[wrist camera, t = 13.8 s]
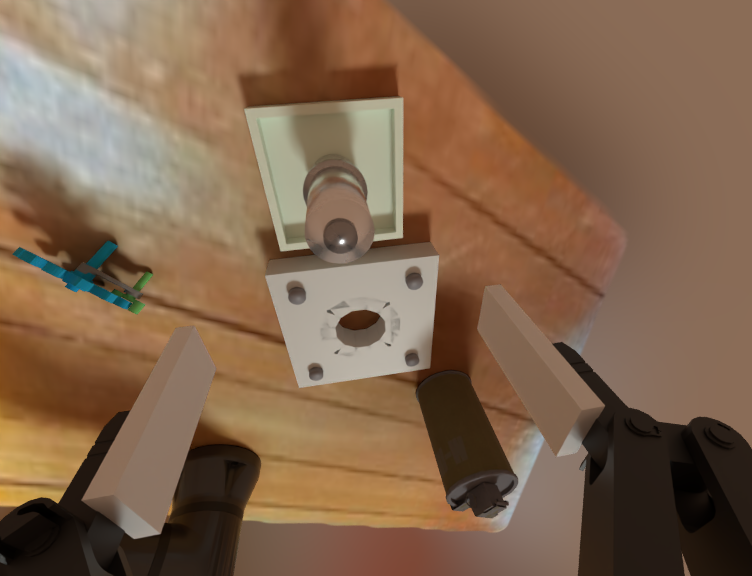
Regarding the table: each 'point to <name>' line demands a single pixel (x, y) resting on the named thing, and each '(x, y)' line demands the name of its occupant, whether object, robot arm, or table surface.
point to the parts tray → (323, 137)
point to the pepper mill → (337, 210)
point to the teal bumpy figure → (92, 277)
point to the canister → (465, 445)
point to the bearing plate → (352, 293)
